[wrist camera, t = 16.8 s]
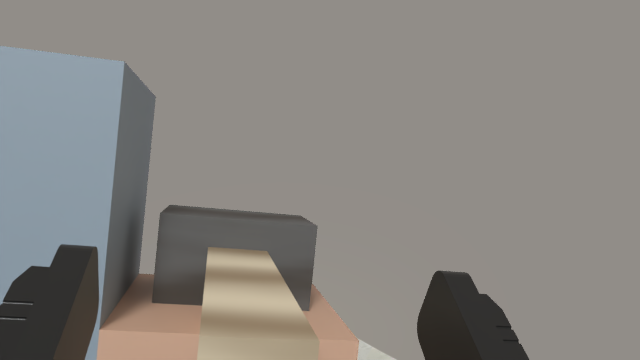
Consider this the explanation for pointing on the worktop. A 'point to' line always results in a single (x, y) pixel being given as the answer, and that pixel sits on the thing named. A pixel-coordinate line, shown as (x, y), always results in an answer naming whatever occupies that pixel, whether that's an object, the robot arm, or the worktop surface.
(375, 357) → the worktop surface
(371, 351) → the worktop surface
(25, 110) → the step stand
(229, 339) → the mallet
